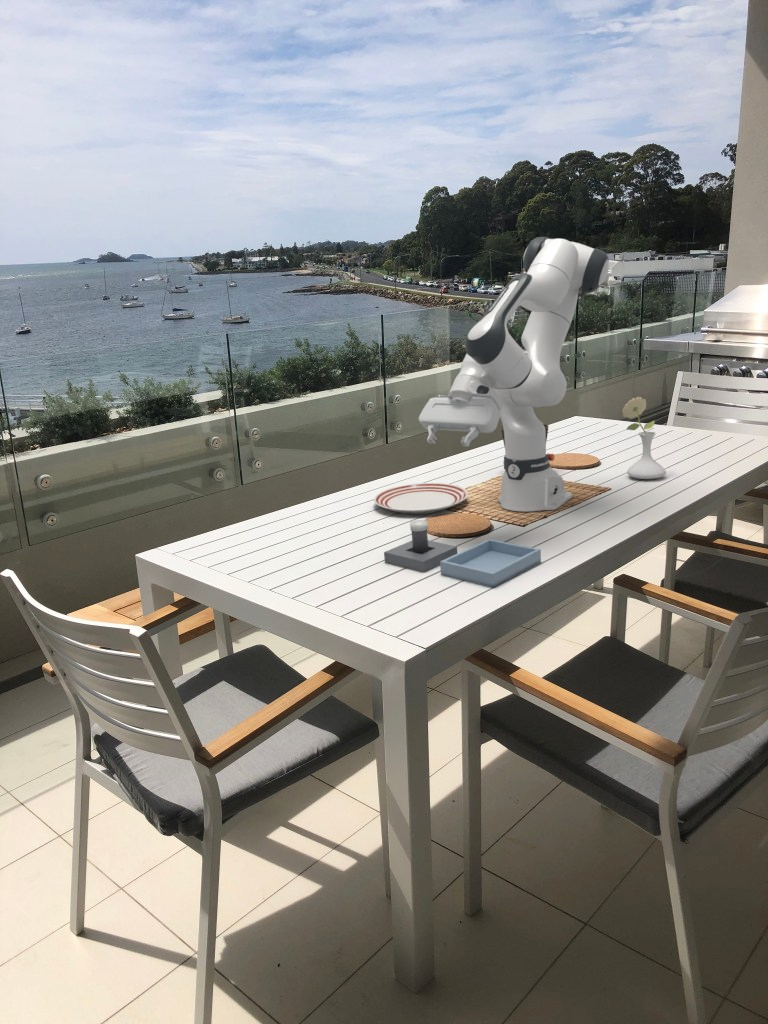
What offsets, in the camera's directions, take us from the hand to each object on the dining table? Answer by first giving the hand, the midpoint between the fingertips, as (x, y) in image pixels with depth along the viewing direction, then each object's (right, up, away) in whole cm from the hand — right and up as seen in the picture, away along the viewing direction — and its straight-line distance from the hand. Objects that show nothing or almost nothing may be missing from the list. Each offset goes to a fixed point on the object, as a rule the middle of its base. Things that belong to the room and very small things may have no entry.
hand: (447, 443), depth 178 cm
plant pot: (+31, -4, +69) cm, 76 cm away
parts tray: (+9, -28, -11) cm, 32 cm away
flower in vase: (+65, -6, +55) cm, 85 cm away
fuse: (-6, -27, -2) cm, 28 cm away
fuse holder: (-6, -27, -2) cm, 28 cm away
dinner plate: (-4, -14, +44) cm, 46 cm away
